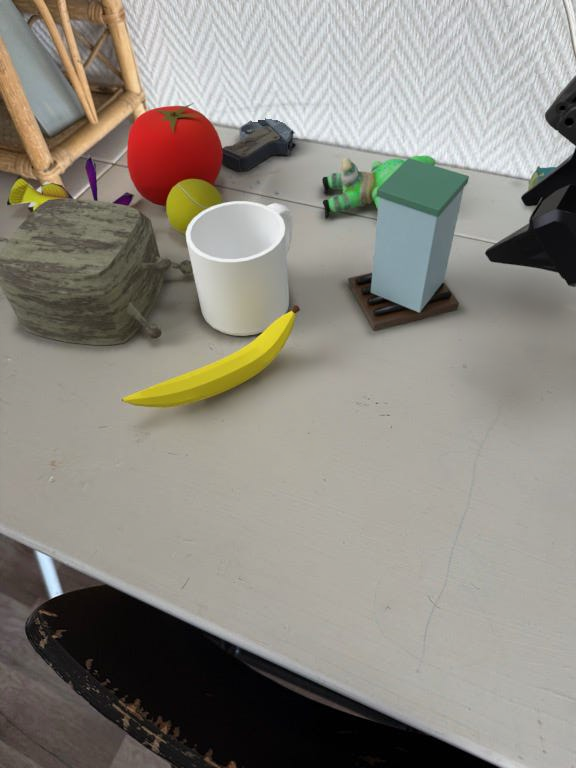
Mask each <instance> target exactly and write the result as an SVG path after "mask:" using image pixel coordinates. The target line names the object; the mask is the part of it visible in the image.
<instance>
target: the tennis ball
mask: <svg viewBox="0 0 576 768" xmlns="http://www.w3.org/2000/svg"><path fill="white" fill-rule="evenodd" d="M222 203H224V201H223V198H222V195H221V192H219V190H218V189H217V188H216V187H215V186H214V185H211V184H209V183H208V182H206V181H203V180H199V179H187V180H183V181H181V182H179V183H177V185H175V186H174V187H173V188H172V189H171V191H170V193H169V195H168V198H167V203H166V206H165V207H166V208H165V209H166V216H167V219H168V221H169V224H170V226H172V228H173V229H174V230H175V231H177V233H180V234H181V235H183V236H185V237H186V231H187V227H188V225H189V224H190V222H191V221H192V220H193V218H194V217H196V216H197V215H198V214H199V213H201V212H202V211H204V210H206V209H208V208H210V207H212V206H215V205H218V204H222Z"/></svg>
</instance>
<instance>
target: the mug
mask: <svg viewBox="0 0 576 768" xmlns="http://www.w3.org/2000/svg"><path fill="white" fill-rule="evenodd" d="M292 217H293V216H292V215H291V213H290V210H289V208H288V207H287V206H285V205H284V204H281V203H278V202H274V203H271V204H268V205H265V204H262V203H260V202H254V201H247V200H245V201H244V200H235V201H234V200H233V201H228V202H223V203H222V204H218V205H215V206H212V207H210V208H208V209H206V210H204V211H202V212H201V213H199V214H198V215H197V216H196V217H194V218H193V220H192V221H191V222H190V224H189V225H188V227H187V231H186V236H185V240H186V245H187V249H188V254H189V259H190V260H189V261H190V262H191V264H192V269H193V271H192V274H193V278H194V282H195V288H196V293H197V296H198V301H199V306H200V310H201V315H202V317H203V318H204V320H205V321H206V323H207V324H208V325H209V326H210V327H211V328H212V329H215V330H217V331H219V332H221V333H222V334H226V335H230V336H239V337H241V336H242V337H247V336H253V335H258V334H262V333H263V332H264V331H265V330H266V329H267V328H268V327H269V326H270V325H271V324H272V323H273V322H274V321H275V320H277V319H278V318H280V317H281V316H282V315H284V314H286V313H288V309H289V305H290V288H289V272H288V271H289V269H288V254H289V251H290V248H291V243H292V236H293V218H292Z"/></svg>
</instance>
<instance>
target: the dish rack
mask: <svg viewBox="0 0 576 768" xmlns="http://www.w3.org/2000/svg"><path fill="white" fill-rule="evenodd" d="M371 282H372V272H369V273H364V274H360V275H356V276H351V277H348V279H347V285H348V287H349V290H350V291H351V293H352V294H353V296H354V298H355V299H356V301H357V303H358V305H359V306H360V308H361V310H362V312H363V314H364V315H365V317H366V319H367V321H368V323H369V324H370V326H371V328H372V330H373V331H374V332H375V331H378V330H382V329H387V328H390V327H395V326H397V325H402V324H406V323H409V322H414V321H417V320H421V319H425V318H430V317H433V316H437V315H442V314H445V313H448V312H449V313H450V312H454V311H457V310H458V309H459V305H460V302H459V301H458V299H457V298H456V297H455V295H454V293H452V291H451V289H450V288H449V287H448V286H447V284H446V283H445V281H444V282H443V283H442V284H441V286H440V287H439V288H438V289H437V291H436V292H435V293H434V295H433V296H432V297H431V299H430V300H429V301H428V302H427V304H426V305H425V306H424V308H423V309H422V310H421V312H420V313H419V312H416V311H414V310H411V309H409V308H407V307H404V306H402V305H399V304H397V303H394V302H392V301H390V300H387V299H385V298H382V297H380V296H377V295H375V294H373V293H371Z"/></svg>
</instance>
